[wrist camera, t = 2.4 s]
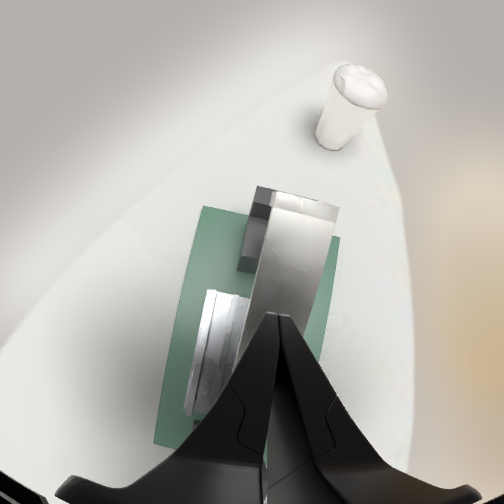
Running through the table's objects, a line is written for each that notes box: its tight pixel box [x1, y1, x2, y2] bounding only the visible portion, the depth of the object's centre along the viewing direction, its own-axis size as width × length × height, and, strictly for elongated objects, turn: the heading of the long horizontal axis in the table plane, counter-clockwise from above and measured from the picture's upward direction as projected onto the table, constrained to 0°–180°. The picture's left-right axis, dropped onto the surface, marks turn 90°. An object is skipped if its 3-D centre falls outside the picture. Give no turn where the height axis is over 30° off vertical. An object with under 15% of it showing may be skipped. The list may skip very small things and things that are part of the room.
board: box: [154, 206, 340, 465], centre depth 22 cm, size 20×12×1 cm, turn 168°
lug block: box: [236, 186, 317, 275], centre depth 20 cm, size 4×4×7 cm
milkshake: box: [315, 64, 388, 151], centre depth 22 cm, size 4×5×10 cm
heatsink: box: [183, 289, 250, 416], centre depth 20 cm, size 9×7×3 cm
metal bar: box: [232, 191, 339, 372], centre depth 13 cm, size 17×2×2 cm, turn 169°
